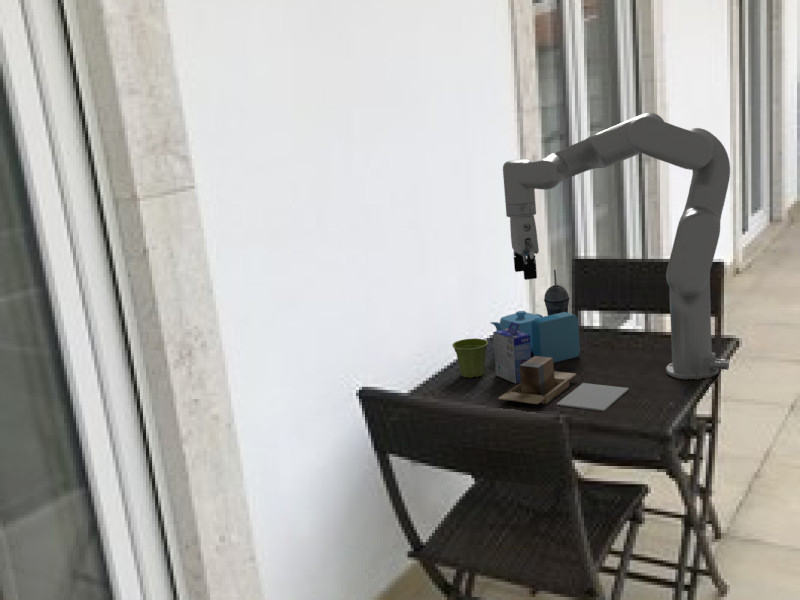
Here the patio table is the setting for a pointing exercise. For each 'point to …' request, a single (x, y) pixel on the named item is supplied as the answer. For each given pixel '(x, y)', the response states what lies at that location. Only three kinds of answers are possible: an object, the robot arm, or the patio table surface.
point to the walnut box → (537, 376)
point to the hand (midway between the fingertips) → (525, 274)
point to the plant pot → (471, 356)
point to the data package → (556, 336)
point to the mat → (593, 396)
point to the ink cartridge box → (511, 352)
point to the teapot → (521, 319)
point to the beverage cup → (556, 299)
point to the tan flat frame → (561, 383)
